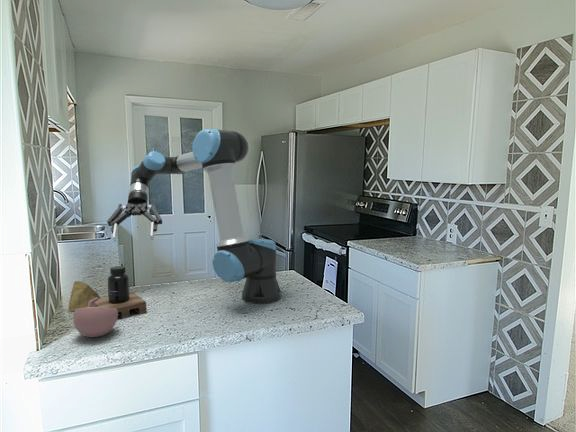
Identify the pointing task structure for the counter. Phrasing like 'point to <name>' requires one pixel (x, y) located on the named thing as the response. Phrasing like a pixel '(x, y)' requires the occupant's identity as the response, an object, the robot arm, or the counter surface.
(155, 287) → the counter surface
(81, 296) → the rock
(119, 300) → the supplement bottle
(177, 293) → the counter surface
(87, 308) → the mortar and pestle
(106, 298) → the block
